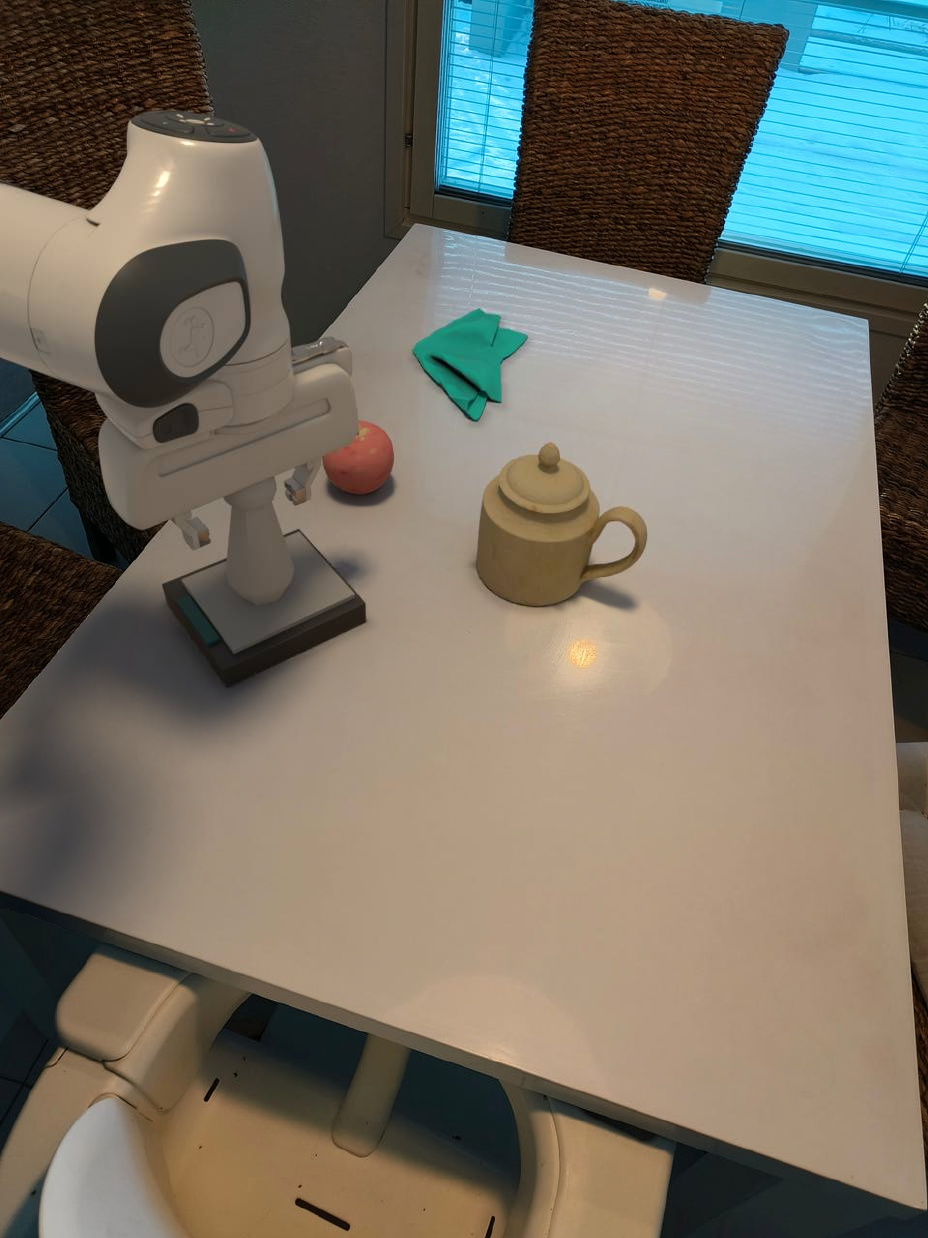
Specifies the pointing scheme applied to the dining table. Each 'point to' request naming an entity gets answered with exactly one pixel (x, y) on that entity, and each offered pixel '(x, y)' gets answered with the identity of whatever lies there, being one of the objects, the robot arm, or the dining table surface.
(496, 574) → the sugar bowl
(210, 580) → the scale
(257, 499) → the salt shaker
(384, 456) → the apple
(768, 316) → the dining table surface
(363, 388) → the dining table surface
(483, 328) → the cloth
